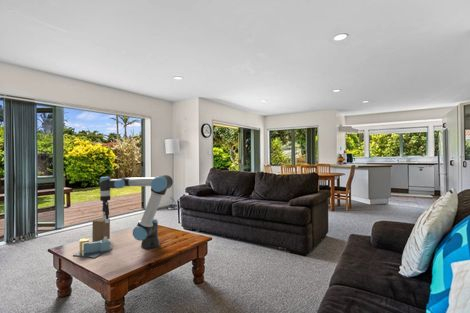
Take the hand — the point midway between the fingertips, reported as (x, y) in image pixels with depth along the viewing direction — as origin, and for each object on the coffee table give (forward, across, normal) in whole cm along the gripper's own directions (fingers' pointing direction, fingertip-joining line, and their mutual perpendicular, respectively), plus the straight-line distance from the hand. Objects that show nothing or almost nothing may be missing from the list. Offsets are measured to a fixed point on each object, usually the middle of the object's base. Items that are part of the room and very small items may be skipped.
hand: (105, 221), depth 204 cm
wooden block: (+23, -22, -1) cm, 32 cm away
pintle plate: (+23, +1, -9) cm, 25 cm away
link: (+22, +1, -7) cm, 23 cm away
